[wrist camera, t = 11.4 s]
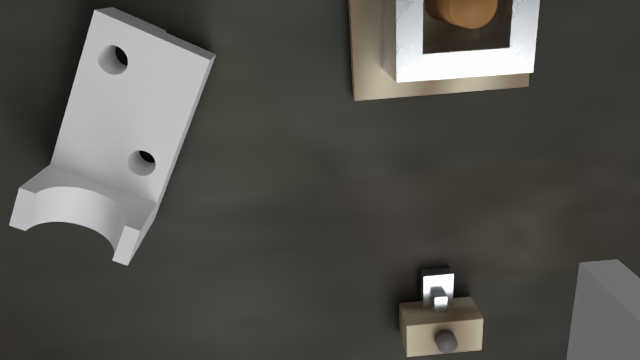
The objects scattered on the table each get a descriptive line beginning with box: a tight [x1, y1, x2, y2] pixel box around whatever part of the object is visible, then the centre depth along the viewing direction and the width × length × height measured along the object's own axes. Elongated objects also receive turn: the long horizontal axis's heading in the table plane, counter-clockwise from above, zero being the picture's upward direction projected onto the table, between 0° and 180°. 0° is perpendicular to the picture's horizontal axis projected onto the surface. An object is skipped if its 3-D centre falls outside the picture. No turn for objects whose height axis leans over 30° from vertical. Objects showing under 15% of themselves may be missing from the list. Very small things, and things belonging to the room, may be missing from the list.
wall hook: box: [420, 267, 454, 313], centre depth 41 cm, size 2×4×2 cm, turn 4°
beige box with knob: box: [399, 297, 483, 357], centre depth 41 cm, size 6×3×4 cm, turn 94°
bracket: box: [9, 7, 216, 266], centre depth 32 cm, size 13×7×8 cm, turn 156°
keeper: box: [348, 0, 529, 101], centre depth 30 cm, size 12×12×7 cm
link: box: [381, 0, 540, 83], centre depth 30 cm, size 8×8×5 cm
